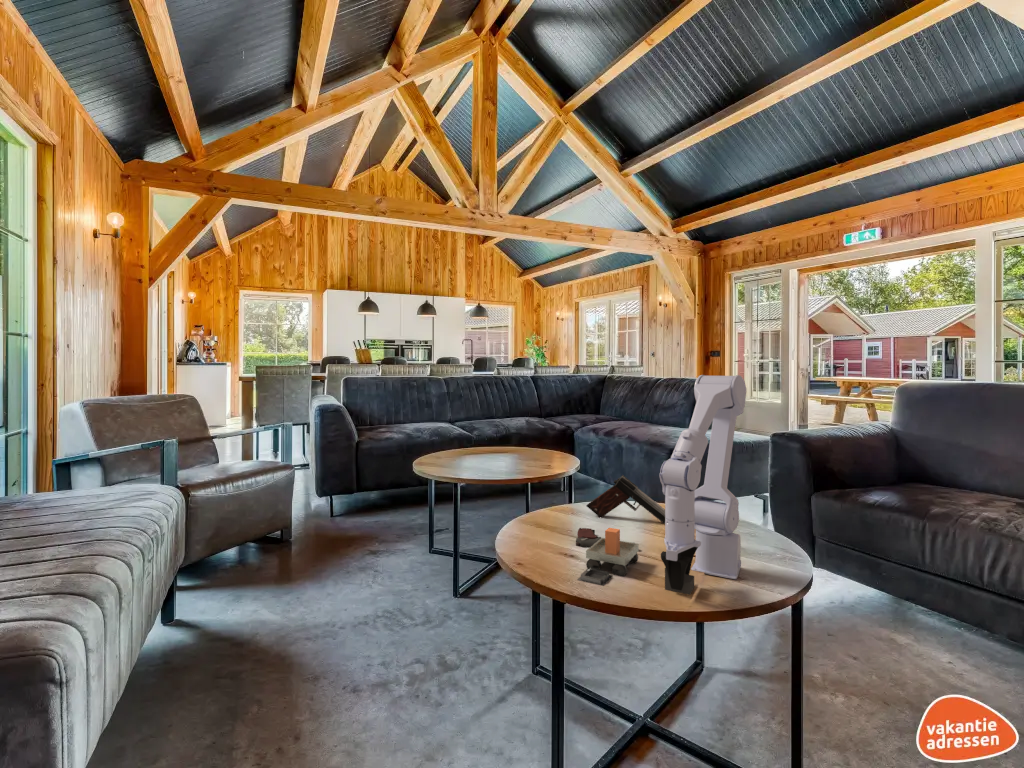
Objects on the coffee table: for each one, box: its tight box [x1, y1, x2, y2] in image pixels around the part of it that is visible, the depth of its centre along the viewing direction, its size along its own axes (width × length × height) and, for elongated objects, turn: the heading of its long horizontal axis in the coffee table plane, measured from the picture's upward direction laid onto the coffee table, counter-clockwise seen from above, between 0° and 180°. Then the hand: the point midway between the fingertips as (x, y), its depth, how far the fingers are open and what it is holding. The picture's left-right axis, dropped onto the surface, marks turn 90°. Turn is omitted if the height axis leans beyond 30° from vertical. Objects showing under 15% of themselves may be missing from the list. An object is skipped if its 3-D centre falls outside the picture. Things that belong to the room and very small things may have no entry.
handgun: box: [586, 474, 665, 525], centre depth 154 cm, size 3×23×15 cm
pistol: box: [575, 527, 632, 548], centre depth 135 cm, size 3×15×12 cm
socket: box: [576, 568, 614, 587], centre depth 111 cm, size 6×6×1 cm
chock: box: [664, 566, 695, 596], centre depth 105 cm, size 5×4×5 cm
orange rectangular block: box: [604, 527, 621, 554], centre depth 117 cm, size 3×3×5 cm
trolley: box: [585, 537, 640, 577], centre depth 118 cm, size 9×10×5 cm
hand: (679, 583), depth 105 cm, fingers open, 5 cm apart
